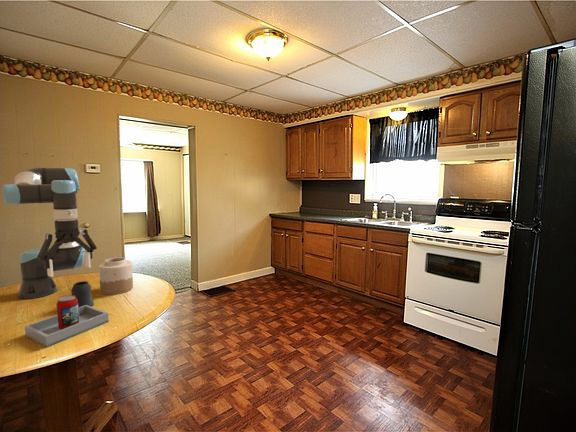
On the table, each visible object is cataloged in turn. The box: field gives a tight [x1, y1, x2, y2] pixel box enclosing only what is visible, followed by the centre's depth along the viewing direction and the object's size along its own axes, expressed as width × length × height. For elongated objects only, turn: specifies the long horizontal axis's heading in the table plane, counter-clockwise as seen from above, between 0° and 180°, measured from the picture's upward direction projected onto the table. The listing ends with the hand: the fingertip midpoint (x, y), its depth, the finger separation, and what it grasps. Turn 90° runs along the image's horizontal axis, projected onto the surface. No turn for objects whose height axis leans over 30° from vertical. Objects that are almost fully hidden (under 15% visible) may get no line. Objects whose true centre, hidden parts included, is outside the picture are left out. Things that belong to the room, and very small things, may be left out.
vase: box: [98, 256, 134, 296], centre depth 160 cm, size 15×15×17 cm
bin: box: [24, 305, 110, 348], centre depth 119 cm, size 16×22×4 cm
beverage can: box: [56, 294, 79, 329], centre depth 118 cm, size 7×7×12 cm
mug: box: [70, 280, 95, 308], centre depth 140 cm, size 12×9×11 cm
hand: (70, 271), depth 120 cm, fingers open, 13 cm apart
